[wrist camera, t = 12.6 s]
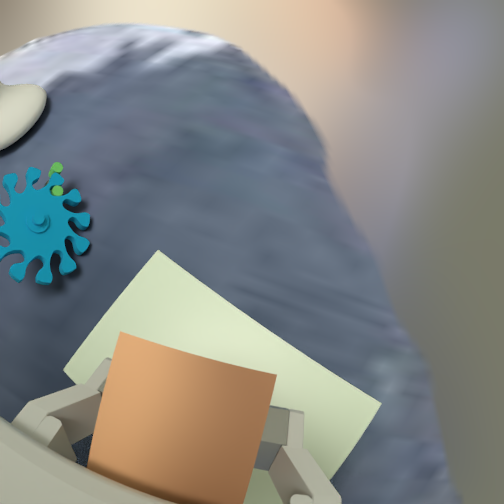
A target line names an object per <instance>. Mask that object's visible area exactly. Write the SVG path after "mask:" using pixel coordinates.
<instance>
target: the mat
mask: <svg viewBox="0 0 504 504" xmlns="http://www.w3.org/2000/svg"><path fill="white" fill-rule="evenodd" d="M120 331H121V332H124V333H127V334H130V335H133V336H136V337H139V338H142V339H145V340H148V341H151V342H154V343H157V344H161V345H164V346H167V347H170V348H174V349H177V350H181V351H184V352H187V353H191V354H194V355H198V356H202V357H205V358H209V359H213V360H217V361H220V362H224V363H228V364H232V365H236V366H241V367H245V368H249V369H253V370H258V371H262V372H267V373H271V374H276V375H277V377H276V382H275V386H274V390H273V394H272V398H271V402H270V405H272V406H278V407H283V408H288V409H294V410H299V411H303V412H304V437H303V449H307V450H308V451H309V453H310V454H311V455H312V457H313V458H314V460H315V461H316V463H317V464H318V466H319V467H320V468H321V470H322V471H323V473H324V474H325V475H326V477H327V478H328V480H330V479H331V478H332V477H333V475H334V474H335V473H336V471H337V470H338V469H339V467H340V466H341V464H342V463H343V462H344V460H345V459H346V458H347V456H348V455H349V453H350V452H351V450H352V449H353V448H354V446H355V445H356V443H357V442H358V440H359V439H360V437H361V436H362V434H363V433H364V431H365V430H366V428H367V426H368V425H369V423H370V422H371V420H372V419H373V417H374V415H375V414H376V412H377V410H378V409H379V407H380V405H381V404H382V403H380V402H378V401H377V400H375V399H374V398H372V397H370V396H369V395H367V394H365V393H364V392H362V391H361V390H359V389H357V388H356V387H354V386H353V385H351V384H349V383H348V382H346V381H345V380H343V379H341V378H340V377H338V376H337V375H335V374H334V373H332V372H331V371H329V370H327V369H326V368H324V367H323V366H321V365H320V364H318V363H317V362H315V361H314V360H312V359H311V358H309V357H308V356H306V355H305V354H303V353H302V352H300V351H299V350H297V349H296V348H294V347H293V346H291V345H290V344H288V343H287V342H285V341H284V340H282V339H281V338H279V337H278V336H276V335H275V334H273V333H272V332H270V331H269V330H268V329H266V328H265V327H263V326H262V325H260V324H259V323H257V322H256V321H255V320H253V319H252V318H250V317H249V316H247V315H246V314H245V313H243V312H242V311H240V310H239V309H237V308H236V307H235V306H233V305H232V304H230V303H229V302H228V301H226V300H225V299H223V298H222V297H221V296H219V295H218V294H217V293H215V292H214V291H212V290H211V289H210V288H208V287H207V286H206V285H204V284H203V283H201V282H200V281H199V280H197V279H196V278H195V277H193V276H192V275H191V274H189V273H188V272H187V271H185V270H184V269H183V268H181V267H180V266H179V265H177V264H176V263H175V262H173V261H172V260H171V259H169V258H168V257H167V256H165V255H164V254H163V253H161V252H160V251H159V250H158V251H157V252H156V253H155V254H154V255H153V256H152V258H151V259H150V260H149V261H148V262H147V263H146V265H145V266H144V267H143V268H142V269H141V271H140V272H139V273H138V274H137V275H136V277H135V278H134V279H133V280H132V281H131V283H130V284H129V285H128V286H127V288H126V289H125V290H124V291H123V292H122V294H121V295H120V296H119V297H118V299H117V300H116V301H115V302H114V304H113V305H112V306H111V307H110V309H109V310H108V311H107V312H106V314H105V315H104V316H103V317H102V319H101V320H100V321H99V323H98V324H97V325H96V326H95V328H94V329H93V330H92V332H91V333H90V334H89V336H88V337H87V338H86V340H85V341H84V342H83V344H82V345H81V346H80V348H79V349H78V350H77V352H76V353H75V354H74V356H73V357H72V358H71V360H70V361H69V362H68V364H67V365H66V367H65V368H64V369H63V370H64V372H65V373H66V374H67V375H68V376H69V377H70V378H71V379H72V380H73V381H74V382H75V383H76V384H77V385H78V384H83V385H85V383H86V382H87V381H88V379H89V378H90V377H91V375H92V374H93V373H94V372H95V370H96V369H97V368H98V366H99V365H100V364H101V363H102V361H103V360H104V359H106V358H107V357H108V358H111V359H112V357H113V354H114V350H115V347H116V344H117V340H118V337H119V334H120ZM243 504H283V502H282V500H281V498H280V496H279V494H278V492H277V490H276V488H275V486H274V484H273V481H272V479H271V477H270V475H269V473H268V471H265V470H261V469H256V468H253V471H252V475H251V478H250V482H249V485H248V489H247V492H246V496H245V499H244V503H243Z"/></svg>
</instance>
